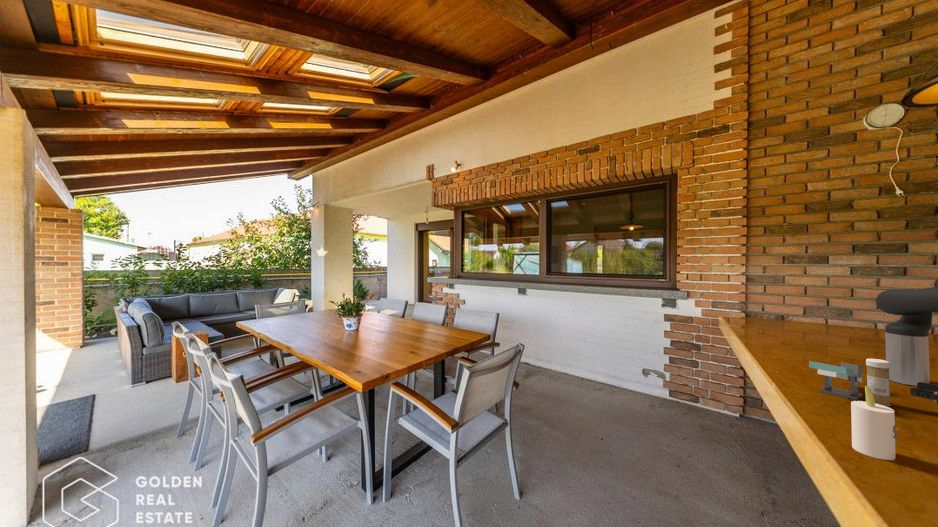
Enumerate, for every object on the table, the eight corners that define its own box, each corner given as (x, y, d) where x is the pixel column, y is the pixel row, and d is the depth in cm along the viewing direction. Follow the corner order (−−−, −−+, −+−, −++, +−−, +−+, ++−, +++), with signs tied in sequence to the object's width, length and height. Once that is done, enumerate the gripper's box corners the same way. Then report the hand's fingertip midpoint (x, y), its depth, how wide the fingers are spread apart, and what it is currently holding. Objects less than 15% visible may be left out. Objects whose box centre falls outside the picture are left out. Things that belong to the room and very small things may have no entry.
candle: (892, 463, 71) (891, 394, 71) (847, 448, 76) (846, 385, 76) (900, 455, 73) (899, 389, 74) (856, 441, 79) (855, 380, 79)
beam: (836, 378, 116) (837, 361, 117) (870, 385, 109) (871, 368, 110) (808, 372, 104) (809, 354, 105) (845, 380, 97) (846, 361, 98)
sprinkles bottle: (891, 404, 99) (890, 360, 99) (889, 408, 96) (888, 363, 96) (867, 399, 103) (867, 357, 103) (865, 403, 100) (864, 359, 100)
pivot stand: (826, 388, 112) (826, 366, 112) (862, 396, 105) (862, 373, 105) (820, 391, 109) (819, 369, 109) (856, 400, 102) (856, 376, 102)
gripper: (1026, 388, 83) (919, 370, 97) (1022, 401, 76) (907, 379, 90) (1027, 418, 83) (919, 395, 97) (1023, 433, 76) (908, 406, 90)
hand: (914, 388), depth 94 cm, fingers open, 8 cm apart
